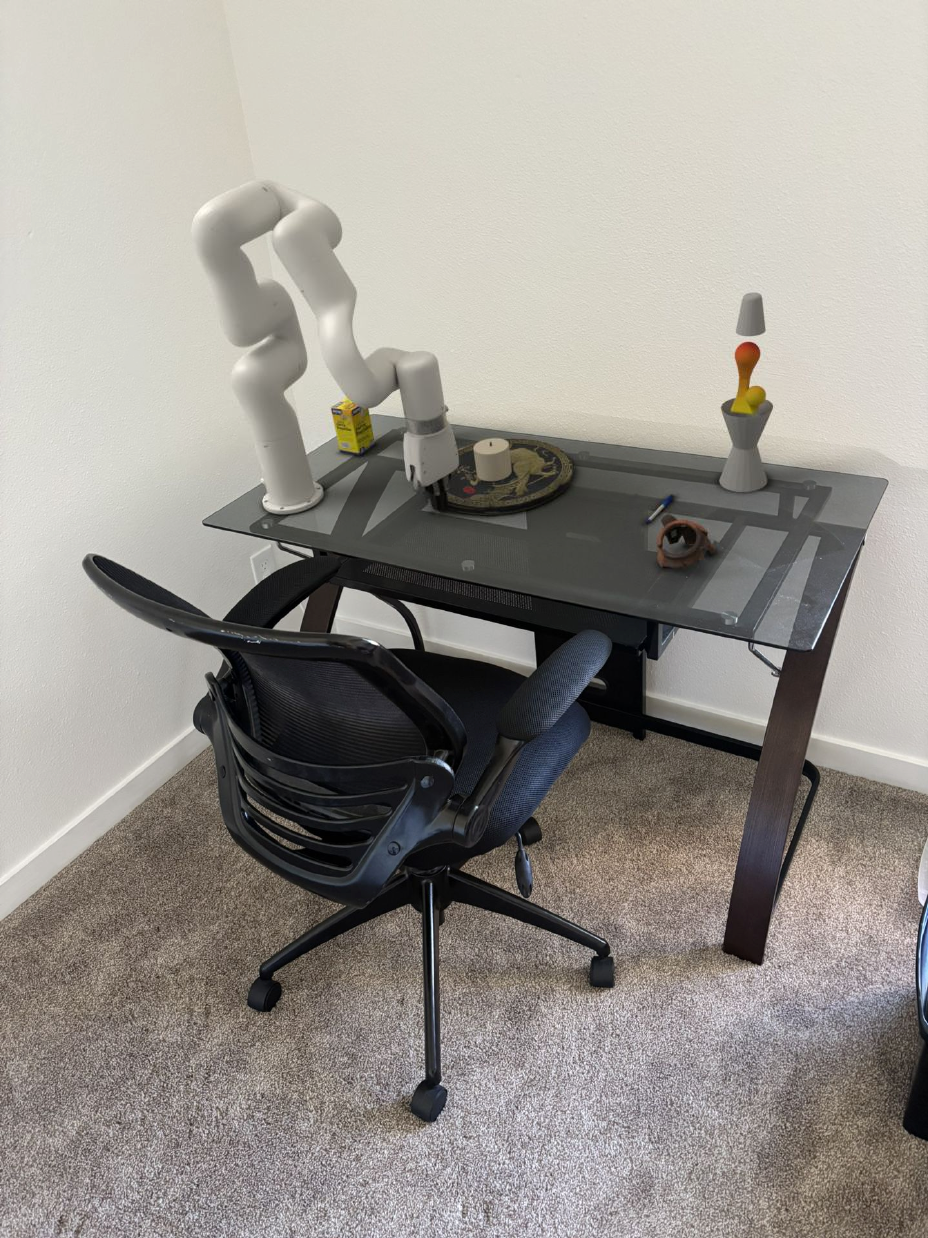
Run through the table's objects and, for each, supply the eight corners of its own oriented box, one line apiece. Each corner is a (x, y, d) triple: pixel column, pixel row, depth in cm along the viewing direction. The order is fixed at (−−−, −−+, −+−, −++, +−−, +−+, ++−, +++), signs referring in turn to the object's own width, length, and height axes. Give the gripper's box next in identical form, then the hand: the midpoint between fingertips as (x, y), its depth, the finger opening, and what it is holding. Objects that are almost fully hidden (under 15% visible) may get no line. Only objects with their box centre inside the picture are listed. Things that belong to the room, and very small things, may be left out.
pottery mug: (728, 561, 157) (718, 537, 151) (682, 595, 158) (669, 573, 152) (688, 517, 164) (676, 492, 158) (643, 550, 166) (630, 526, 159)
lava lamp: (711, 487, 177) (716, 301, 157) (728, 466, 183) (735, 284, 162) (758, 495, 172) (770, 305, 152) (775, 473, 178) (788, 287, 158)
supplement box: (360, 456, 207) (350, 410, 201) (339, 452, 210) (329, 407, 204) (376, 445, 211) (367, 399, 205) (356, 441, 214) (346, 396, 208)
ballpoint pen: (669, 497, 176) (669, 492, 176) (674, 497, 176) (674, 493, 175) (645, 524, 170) (645, 519, 169) (650, 525, 169) (650, 520, 169)
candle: (469, 475, 189) (465, 445, 185) (493, 461, 193) (489, 431, 189) (495, 484, 185) (491, 453, 181) (518, 470, 189) (515, 439, 185)
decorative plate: (454, 523, 175) (406, 461, 198) (455, 532, 176) (407, 469, 199) (599, 481, 181) (536, 425, 205) (599, 489, 182) (536, 433, 206)
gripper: (441, 402, 177) (454, 488, 188) (382, 432, 170) (399, 520, 180) (469, 410, 173) (481, 497, 183) (410, 442, 165) (426, 531, 176)
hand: (440, 509), depth 182 cm, fingers closed
